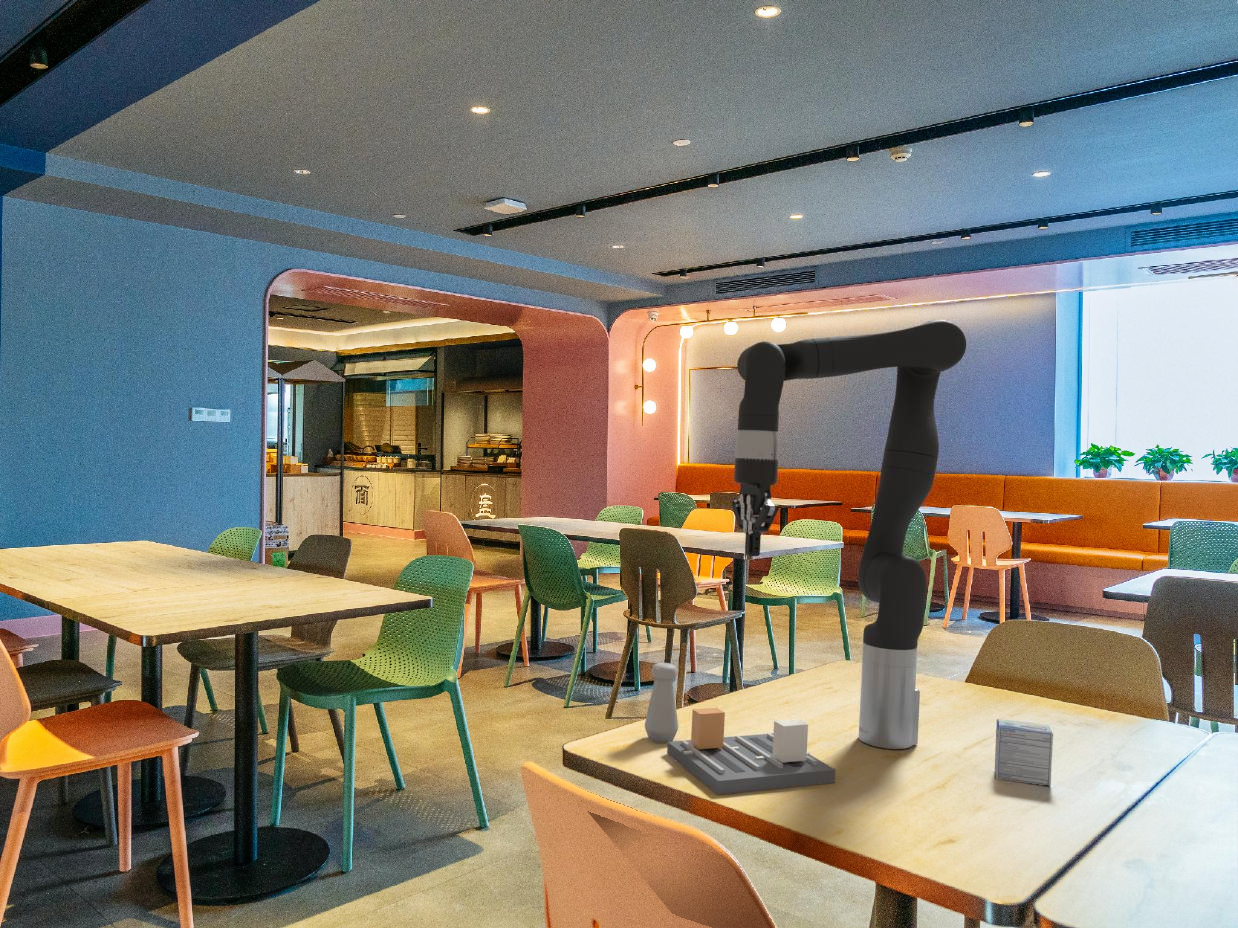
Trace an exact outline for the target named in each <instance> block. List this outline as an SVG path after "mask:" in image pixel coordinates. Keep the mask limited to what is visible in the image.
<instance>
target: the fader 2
mask: <svg viewBox="0 0 1238 928" xmlns="http://www.w3.org/2000/svg"><path fill="white" fill-rule="evenodd" d="M808 731H809V724H808V723H806V722H805V721H802V719H798V718H793V719H781V720H774V721H773V733H774V734H773V755H772V757H774V758H775V759H777V760H779V761H780V762H782V763H783V762H794V761H805V760H806V759H807V752H808V736H809V735H808V734H809V733H808Z"/></svg>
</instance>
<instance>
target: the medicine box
mask: <svg viewBox="0 0 1238 928" xmlns="http://www.w3.org/2000/svg"><path fill="white" fill-rule="evenodd" d="M995 725H996V729H995V749H994V750H995V753H994V754H995V755H994V772H995V779H996V780H1002V781H1003V780H1004V781H1008V780H1009V781H1010V782H1017V783H1024V784H1030V783H1032V784H1031V785H1036V784H1039V786H1043V785H1049V786H1048V787H1051V786H1052V785H1051V784H1052V765H1053V745H1054V744H1053V743H1054V742H1053V741H1054V732H1053V730H1052V729H1051V727H1050V725H1048V724H1043V723H1035V722H1031V721H1030V722H1028V721H1021V720H1020V721H1019V720H1013V719H1012V720H1011V719H1004V718H1003V719H1002V718H997V719H996V724H995ZM1009 781H1008V782H1009Z"/></svg>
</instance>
